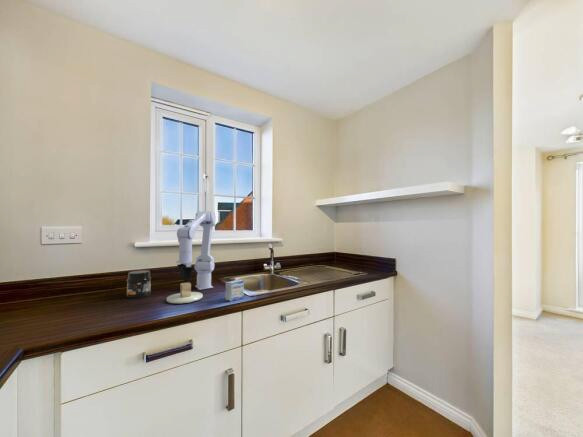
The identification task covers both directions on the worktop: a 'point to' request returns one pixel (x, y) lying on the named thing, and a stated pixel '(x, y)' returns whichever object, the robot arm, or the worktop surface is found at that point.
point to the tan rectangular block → (185, 290)
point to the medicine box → (234, 290)
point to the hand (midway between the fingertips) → (185, 279)
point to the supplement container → (138, 284)
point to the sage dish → (178, 299)
